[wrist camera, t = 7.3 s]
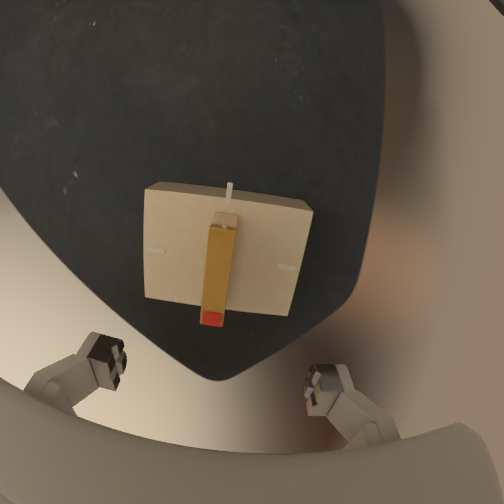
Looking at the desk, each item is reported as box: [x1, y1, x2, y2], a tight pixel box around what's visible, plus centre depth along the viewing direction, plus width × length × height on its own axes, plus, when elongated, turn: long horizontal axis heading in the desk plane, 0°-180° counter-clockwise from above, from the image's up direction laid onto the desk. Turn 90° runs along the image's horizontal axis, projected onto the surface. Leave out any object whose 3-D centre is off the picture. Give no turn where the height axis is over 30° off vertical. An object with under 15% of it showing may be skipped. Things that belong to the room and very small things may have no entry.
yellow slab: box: [200, 211, 238, 327], centre depth 18 cm, size 7×2×4 cm, turn 170°
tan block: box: [144, 181, 313, 316], centre depth 22 cm, size 12×11×4 cm
